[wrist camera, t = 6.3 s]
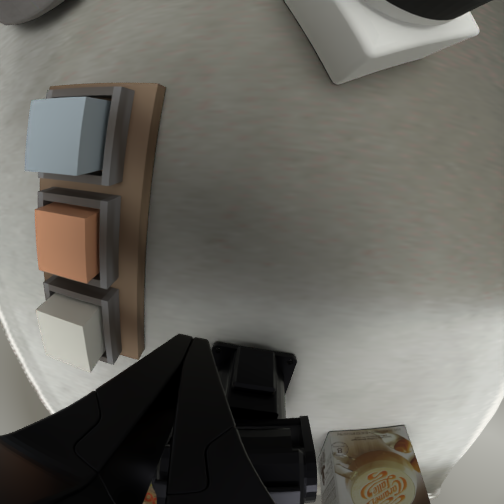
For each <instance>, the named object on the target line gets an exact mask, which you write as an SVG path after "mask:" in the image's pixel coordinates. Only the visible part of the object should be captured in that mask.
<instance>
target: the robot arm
mask: <svg viewBox="0 0 504 504" xmlns="http://www.w3.org/2000/svg"><path fill="white" fill-rule="evenodd" d="M216 348H220V349H221V350H217V349H216ZM288 360H292V361H288ZM296 363H297V359H296V356H295V355H293V354H287V353H280V352H273V351H267V350H261V349H254V348H248V347H243V346H237V345H231V344H226V343H220V342H216V343H214V344H213V346H212V351H211V347H210V344H209V341H208V340H207V339H202V338H197V337H195V338H193V337H192V336H188V335H183V334H178V335H176V336H174V337H173V338H172V339H170V340H169V341H167V342H166V343H164V344H163V345H161V346H160V347H158V348H157V349H155V350H154V351H152V352H151V353H150V354H148V355H147V356H145V357H144V358H142V359H141V360H139V361H138V362H136V363H135V364H133V365H132V366H130V367H129V368H127V369H126V370H124V371H123V372H121V373H120V374H118V375H117V376H115V377H114V378H112V379H111V380H109V381H108V382H106V383H105V384H103V385H102V386H100V387H99V388H97V389H96V392H95V391H92V392H91V393H89V394H88V395H86V396H85V397H83V398H81V399H80V400H78V401H76V402H75V403H73V404H71V405H70V406H68V407H66V408H64V409H62V410H60V411H58V412H56V413H54V414H52V415H50V416H48V417H46V418H44V419H41V420H39V421H37V422H35V423H33V424H31V425H28V426H26V427H24V428H22V429H19V430H17V431H15V432H12V433H9V434H6V435H2V436H0V504H143V502H144V499H145V496H146V494H147V491H148V489H149V486H150V484H151V482H152V486H153V489H154V491H155V493H156V498H157V504H304V503H310V502H315V499H316V493H317V466H316V455H315V449H314V444H313V439H312V434H311V429H310V424H309V419H308V416H300V417H299V418H286V414H285V393H286V391H287V388H288V385H289V383H290V380H291V377H292V375H293V372H294V369H295V366H296Z"/></svg>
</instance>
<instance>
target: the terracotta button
mask: <svg viewBox="0 0 504 504" xmlns="http://www.w3.org/2000/svg"><path fill="white" fill-rule="evenodd" d="M99 227H100V209H96V208H90V207H84V206H78V205H72V204H65V203H59V202H53V203H50V204H48V205H45V206H43V207H40V208H38V209H35V228H36V244H37V256H38V266H39V270H41V271H45V272H48V273H51V274H55V275H58V276H61V277H65V278H68V279H72V280H75V281H79V282H83V283H86V284H87V283H88V282H89V281H90V280H92V279H93V278H94V277H95V276H96V275H97V274H98V273H99V272H100V260H99Z"/></svg>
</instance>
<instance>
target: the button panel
mask: <svg viewBox="0 0 504 504" xmlns="http://www.w3.org/2000/svg"><path fill="white" fill-rule="evenodd" d="M165 90H166V87H164V86H162V85H160V84H157V83H92V84H74V85H61V86H51V87H50V89H49V90H47V94H46V99H50V98H65V97H91V98H97V99H102V100H108V101H111V106H110V112H109V119H108V126H107V133H106V141H105V149H104V159H103V170H99V171H95V172H90V173H86V174H82V175H78V176H73V175H64V174H54V173H43V172H38V178H40V191H38V208H40V207H43V206H45V205H48V204H50V203H53V202H59V203H65V204H72V205H78V206H84V207H90V208H96V209H100V227H99V260H100V272H99V273H98V274H97V275H96V276H95V277H94V278H93V279H92V280H90V281H89V282H88V283H87V284H86V283H83V282H79V281H75V280H72V279H68V278H65V277H61V276H58V275H55V274H51V273H48V272H45V271H43V272H44V277H45V282H43V284H44V291H45V298H46V300H47V299H48V298H50V297H51V296H52V295H53V294H54V293H55V292H56V293H59V294H62V295H65V296H69V297H72V298H75V299H78V300H82V301H85V302H88V303H92V304H95V305H99V306H102V318H103V328H104V338H105V347H106V350H105V352H104V353H103V355H102V356H101V358H100V359H99V360H100V361H103V362H106V363H109V364H113V365H114V363H115V361H116V360H117V358H118V357H119V355H123V356H126V357H130V358H133V359H137V360H139V358H140V356H141V354H142V352H143V351H144V283H145V257H146V239H147V225H148V212H149V201H150V191H151V182H152V173H153V165H154V157H155V150H156V143H157V136H158V129H159V123H160V117H161V111H162V106H163V100H164V95H165Z"/></svg>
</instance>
